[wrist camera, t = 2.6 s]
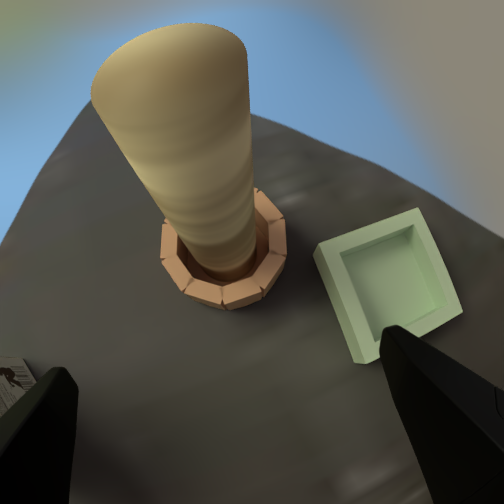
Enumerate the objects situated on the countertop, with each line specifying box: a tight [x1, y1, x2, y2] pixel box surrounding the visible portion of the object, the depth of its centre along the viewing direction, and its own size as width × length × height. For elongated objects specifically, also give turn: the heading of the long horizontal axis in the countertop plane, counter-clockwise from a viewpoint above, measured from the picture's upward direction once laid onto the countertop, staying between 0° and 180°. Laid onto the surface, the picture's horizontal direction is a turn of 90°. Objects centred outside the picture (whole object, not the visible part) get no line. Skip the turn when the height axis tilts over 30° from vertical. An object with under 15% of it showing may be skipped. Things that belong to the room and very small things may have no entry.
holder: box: [160, 188, 287, 311], centre depth 21 cm, size 8×8×4 cm
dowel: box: [91, 23, 257, 282], centre depth 14 cm, size 4×4×16 cm
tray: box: [312, 208, 463, 364], centre depth 20 cm, size 8×8×3 cm
